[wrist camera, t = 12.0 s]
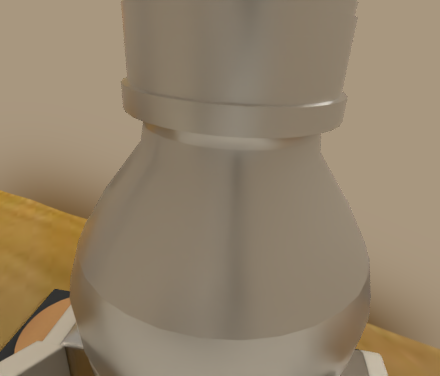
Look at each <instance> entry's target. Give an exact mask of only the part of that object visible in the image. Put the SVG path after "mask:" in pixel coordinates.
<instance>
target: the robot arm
mask: <svg viewBox="0 0 440 376" xmlns="http://www.w3.org/2000/svg"><path fill="white" fill-rule="evenodd" d="M0 376H95V374H94V372H93V369H92V367H91V364H90V362H89V358H88V357H87V355H86V353H85V351H84V348H83V344H82V341H81V337H80V334H79V330H78V326H77V323H76V319H75V316H74V312H73V309H72V305H70V306H69V307H68V309H67V310H66V311H65V312H64V314H63V315H62V316H61V318H60V319H59V320H58V322H57V323H56V324H55V325H54V327H53V328H52V329H51V331H50V332H49V333H48V335H47V336H46V337H45V339H44V340H43V341H36V342H34V343H33V344H31V345H29V346H27V347H25V348H24V349H22V350H20V351H18V352H17V353H15V354H13V355H11V356H10V357H8V358H6V359H4V360H2V361H1V362H0ZM340 376H388V374H387V371H386V368H385V365H384V362H383V359H382V357H381V355H380V354H379V353H374V352H369V351H363V350H359V349H354V351H353V353H352V355H351V358H350V360H349V362H348V364H347V366H346V368H345V369H344V371H343V372H342V373H341V374H340Z"/></svg>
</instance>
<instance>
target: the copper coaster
mask: <svg viewBox="0 0 440 376" xmlns="http://www.w3.org/2000/svg"><path fill="white" fill-rule="evenodd" d="M70 305H71V302H70V297H69V298H66V299H63V300H61V301H59V302H56V303H55V304H53V305H51V306H49V307H47V308H46V309H44V310H43V311H41V312H40V313H39V314H37V315H36V316H35V317H34V318H33V319H32V320H31V321H30V322H29V323H28V324H27V325H26V327H25V328H24V329H23V331H22V332H21V334H20V336H19V338H18V340H17V343H16V346H15V351H14V354H15V353H17V352H18V351H20V350H22V349H24V348H25V347H27V346H29V345H31V344H33V343H34V342H36V341H43V340H44V339H45V337H46V336H47V335H48V333H49V332H50V331H51V329H52V328H53V327H54V325H55V324H56V323H57V322H58V320H59V319H60V318H61V316H62V315H63V314H64V312H65V311H66V310H67V309H68V307H69V306H70Z"/></svg>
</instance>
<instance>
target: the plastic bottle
mask: <svg viewBox="0 0 440 376" xmlns="http://www.w3.org/2000/svg"><path fill="white" fill-rule="evenodd" d="M357 5H358V1H357V0H122V1H121V6H122V18H123V30H124V43H125V56H126V68H127V77H126V78H123V80H122V81H121V87H122V98H123V107H124V110H125V112H126V113H128V114H130V115H131V116H132V117H134V118H136V119H139V120H141V121H143V128H142V137H141V141H140V143H139V144H138V145H137V146H136V148H135V149H134V151H133V152H132V154H131V155H130V156H129V157H128V159H127V160H126V161H125V163H124V164H123V165H122V167H121V168H120V169H119V171H118V172H117V174H116V175H115V176H114V178H113V179H112V180H111V182H110V183H109V184H108V186H107V187H106V189H105V190H104V192H103V194H102V196H101V197H100V199H99V201H98V203H97V204H96V206H95V208H94V210H93V212H92V213H91V215H90V217H89V218H88V220H87V222H86V224H85V226H84V228H83V231H82V233H81V236H80V238H79V241H78V246H77V250H76V255H75V259H74V264H73V268H72V273H71V278H70V302H71V305H72V309H73V312H74V316H75V319H76V323H77V326H78V330H79V334H80V337H81V341H82V344H83V348H84V351H85V353H86V355H87V357H88V358H89V362H90V364H91V367H92V369H93V372H94V374H95V376H340V374H341V373H342V372H343V371H344V369H345V368H346V366H347V364H348V362H349V360H350V358H351V355H352V353H353V351H354V349H355V348H356V346H357V344H358V342H359V340H360V338H361V335H362V333H363V331H364V328H365V326H366V323H367V321H368V318H369V311H370V266H369V256H368V253H367V249H366V245H365V242H364V240H363V237H362V235H361V232H360V230H359V227H358V225H357V223H356V220H355V218H354V215H353V213H352V210H351V208H350V206H349V203H348V201H347V199H346V198H345V196H344V194H343V192H342V190H341V189H340V187H339V185H338V183H337V182H336V180H335V178H334V176H333V174H332V172H331V170H330V169H329V167H328V165H327V163H326V161H325V160H324V158H323V156H322V154H321V152H320V146H321V133H324V132H328V131H332V130H333V129H335V128H337V127H339V126H340V124H341V123H342V120H343V115H344V111H345V106H346V101H347V95H346V94H345V93H344V92H342V89H343V84H344V80H345V75H346V70H347V65H348V60H349V56H350V51H351V46H352V42H353V36H354V32H355V27H356V23H357V17H356V16H355V13H356V9H357Z"/></svg>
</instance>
